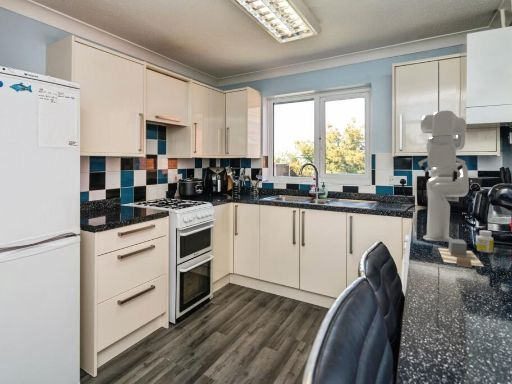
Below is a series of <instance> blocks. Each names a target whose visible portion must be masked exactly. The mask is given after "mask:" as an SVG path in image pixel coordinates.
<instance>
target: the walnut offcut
mask: <svg viewBox="0 0 512 384" xmlns="http://www.w3.org/2000/svg"><path fill="white" fill-rule="evenodd" d="M455 264H456V265H457V267H462V268H470V269H472V268H473V265H472V264H471V260H470V259H464V258H457V261H456V263H455Z"/></svg>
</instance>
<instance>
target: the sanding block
mask: <svg viewBox="0 0 512 384" xmlns="http://www.w3.org/2000/svg"><path fill="white" fill-rule="evenodd" d="M467 247H468V244H467V242H466V241H465V240H464V239H458V238H457V239H456V238H452V239H449V242H448V249H449V252H450V254H451V255H454V256H463V257H466V252H467V251H468V249H467Z"/></svg>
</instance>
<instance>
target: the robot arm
mask: <svg viewBox="0 0 512 384" xmlns="http://www.w3.org/2000/svg"><path fill="white" fill-rule="evenodd" d="M420 129H421V130H420V131H421V132H422V133H424V134H431V136H430V137H429V138H428V139H427V141H426V145H425V146H426V152H427V157H425V158H424V159H421V160H420V161H418V162H417V163H418V165H419V168H420V169H421V170H423V172H424V180H426V190H427V191H426V193H427V219H426V220H427V221H426V222H427V223H426V234H425V235H423V237H422V238H423V239H424V240H425V241H435V242H445V243H446V242H447V243H449V239H453V238H452V237H450V217H451V204H450V203H449V201H448V200H447V199H446V198H445V197H457V198H458V197H459V198H460V197H461V198H462V197H465V196H467V195H468V193H469V190H470V183H469V182H470V181H469V171H468V166H467V165H466V161H465V160H463V159H461V158H458V157H457V153H456V151H461V150H463V149H464V147H465V145H466V137H467V136H466V133H467V121H466V120H465V118H462V117H458V116H457V115H456V114H455V113H454V112H453V111H451V110H439V111H436V112H434V113H433V114H426V115H425V114H424V115H423V116H422V118H421V120H420ZM424 163H427V167H425V166H424V165H423V164H424ZM429 170H430V172H429Z"/></svg>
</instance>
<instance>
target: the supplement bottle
mask: <svg viewBox="0 0 512 384" xmlns="http://www.w3.org/2000/svg"><path fill="white" fill-rule="evenodd" d="M476 250H477V252H479V253H480V252H481V253H489V254H491V253H493V252H494V237H492V231H490V230H483V229H482V230H480V229H479V235H478V236H477V237H476Z"/></svg>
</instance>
